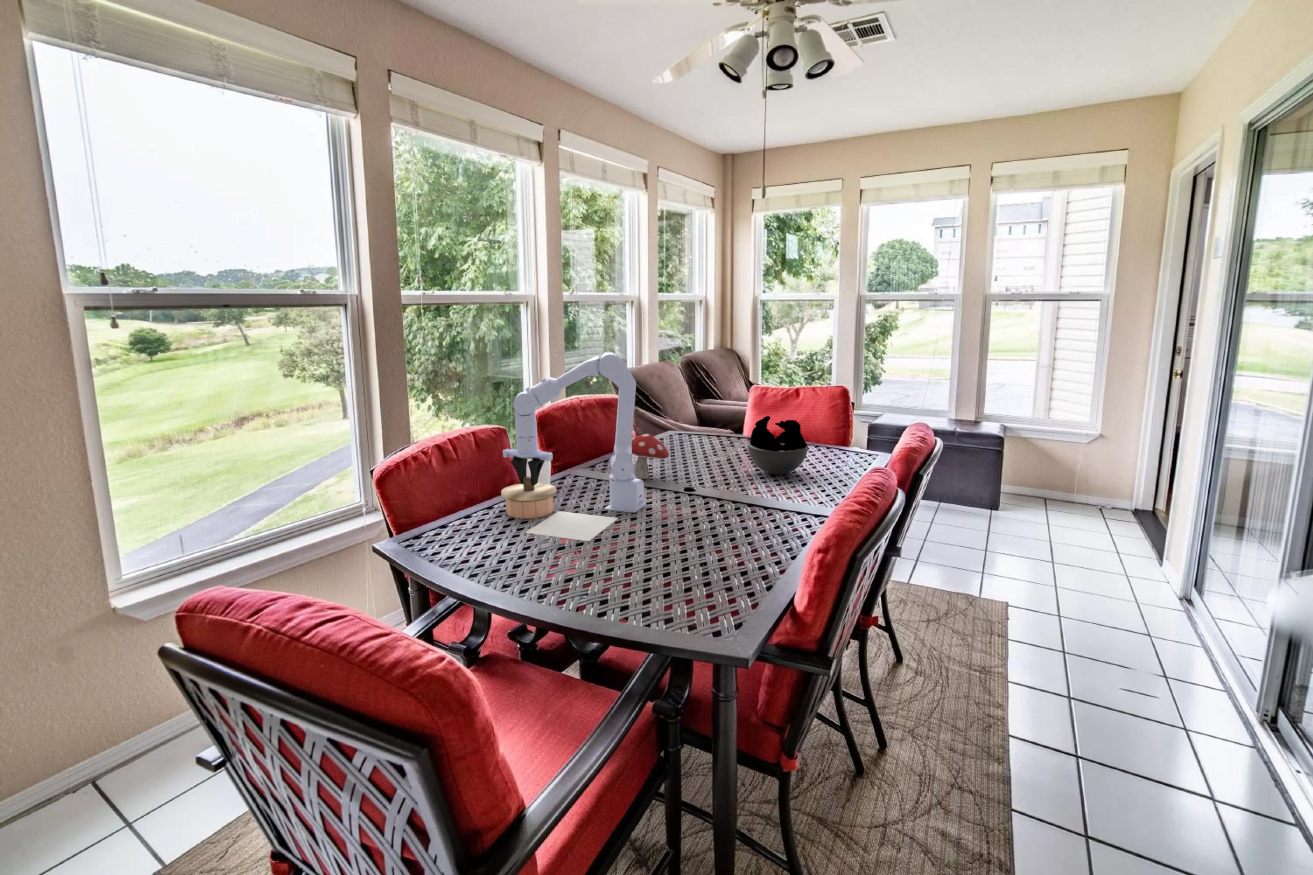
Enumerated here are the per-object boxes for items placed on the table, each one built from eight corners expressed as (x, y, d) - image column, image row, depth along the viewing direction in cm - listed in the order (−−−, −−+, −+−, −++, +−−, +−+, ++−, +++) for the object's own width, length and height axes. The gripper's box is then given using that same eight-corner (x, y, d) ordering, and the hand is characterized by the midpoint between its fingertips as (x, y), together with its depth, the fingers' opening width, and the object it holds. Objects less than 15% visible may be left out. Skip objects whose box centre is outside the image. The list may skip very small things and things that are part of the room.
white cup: (556, 483, 211) (555, 453, 209) (542, 490, 204) (541, 459, 202) (536, 481, 214) (535, 451, 212) (522, 487, 207) (520, 456, 205)
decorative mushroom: (640, 469, 227) (640, 427, 224) (678, 476, 218) (678, 432, 215) (611, 480, 215) (610, 435, 212) (650, 487, 206) (650, 441, 202)
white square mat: (618, 519, 176) (618, 518, 176) (588, 542, 160) (588, 541, 160) (559, 512, 182) (559, 511, 182) (524, 534, 166) (524, 532, 166)
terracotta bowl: (562, 507, 187) (561, 490, 186) (538, 521, 175) (538, 504, 174) (522, 502, 191) (521, 486, 190) (497, 516, 179) (496, 499, 178)
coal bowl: (812, 481, 211) (815, 424, 207) (750, 481, 212) (752, 424, 208) (800, 466, 231) (802, 413, 227) (743, 466, 231) (744, 414, 227)
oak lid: (565, 488, 187) (564, 473, 186) (541, 502, 173) (540, 486, 172) (518, 484, 191) (517, 469, 190) (491, 498, 177) (490, 482, 176)
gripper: (495, 437, 177) (498, 485, 180) (542, 440, 172) (544, 490, 175) (509, 432, 184) (512, 478, 187) (555, 435, 179) (557, 483, 182)
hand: (529, 483), depth 181 cm, fingers closed on oak lid, 3 cm apart
